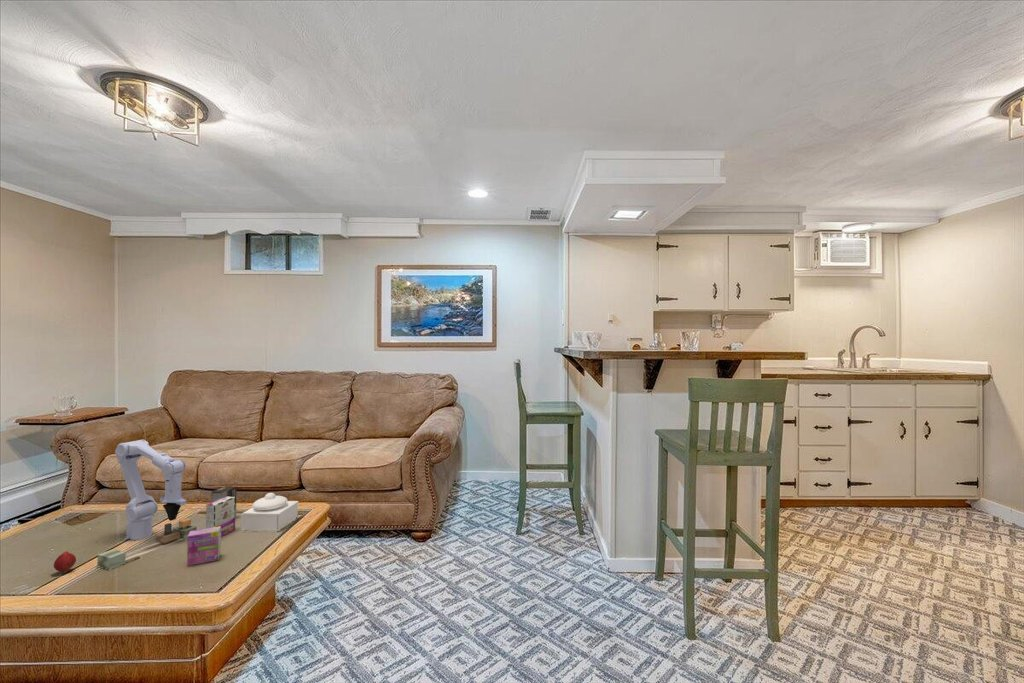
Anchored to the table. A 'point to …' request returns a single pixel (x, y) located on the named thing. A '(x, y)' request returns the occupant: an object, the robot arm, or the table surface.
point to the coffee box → (224, 494)
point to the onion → (64, 562)
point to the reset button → (184, 523)
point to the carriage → (167, 534)
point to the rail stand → (137, 551)
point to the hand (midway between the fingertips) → (172, 519)
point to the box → (203, 545)
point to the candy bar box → (221, 515)
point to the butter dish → (269, 513)
